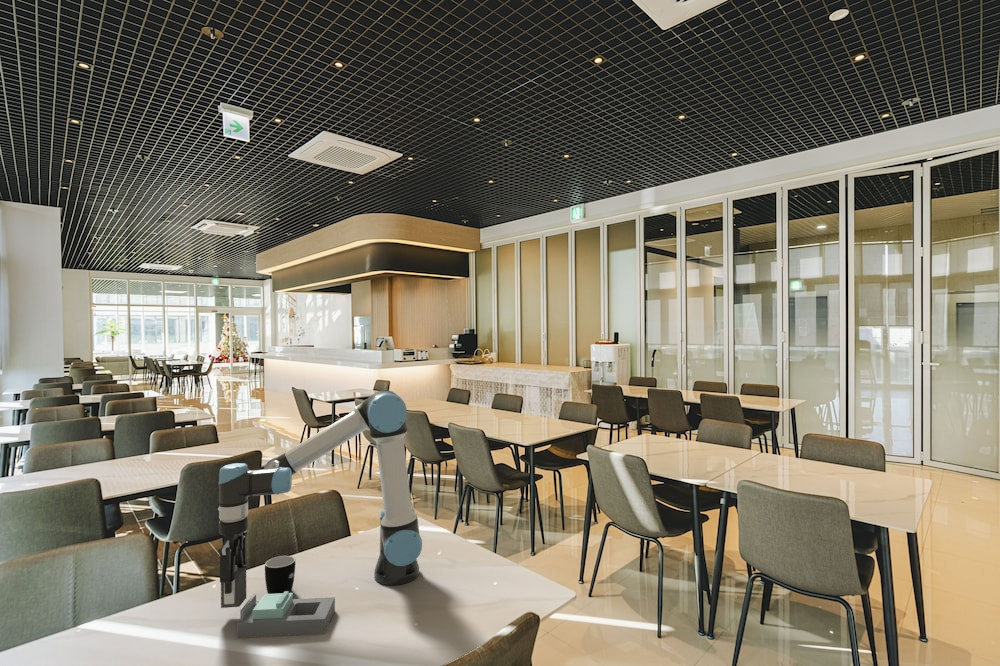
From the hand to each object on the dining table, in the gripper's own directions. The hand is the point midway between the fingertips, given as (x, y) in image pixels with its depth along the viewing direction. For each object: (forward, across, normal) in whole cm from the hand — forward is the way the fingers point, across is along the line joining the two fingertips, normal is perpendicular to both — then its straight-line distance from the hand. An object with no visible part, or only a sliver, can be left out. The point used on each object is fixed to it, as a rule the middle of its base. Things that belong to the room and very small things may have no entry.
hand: (233, 598), depth 146 cm
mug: (+6, -15, +8) cm, 18 cm away
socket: (+6, +5, +17) cm, 19 cm away
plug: (+1, 0, 0) cm, 1 cm away
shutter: (+2, +5, +13) cm, 14 cm away
